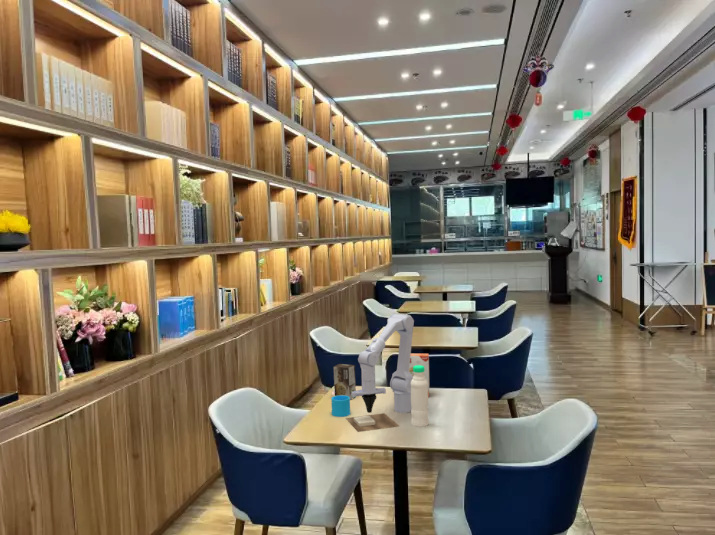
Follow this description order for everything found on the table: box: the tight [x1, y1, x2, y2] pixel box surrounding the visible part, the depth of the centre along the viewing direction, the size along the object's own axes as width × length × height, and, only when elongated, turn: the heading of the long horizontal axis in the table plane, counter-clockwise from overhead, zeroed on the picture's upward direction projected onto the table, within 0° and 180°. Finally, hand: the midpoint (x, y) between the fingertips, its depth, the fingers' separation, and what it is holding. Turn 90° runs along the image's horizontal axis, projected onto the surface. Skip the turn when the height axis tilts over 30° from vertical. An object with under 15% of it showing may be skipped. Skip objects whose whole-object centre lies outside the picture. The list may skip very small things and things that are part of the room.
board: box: [345, 412, 400, 433], centre depth 220 cm, size 18×18×1 cm
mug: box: [330, 395, 351, 418], centre depth 234 cm, size 12×8×8 cm
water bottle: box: [410, 365, 430, 427], centre depth 216 cm, size 7×7×25 cm
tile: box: [353, 415, 375, 427], centre depth 219 cm, size 2×8×7 cm
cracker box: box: [400, 352, 430, 398], centre depth 260 cm, size 14×6×21 cm, turn 81°
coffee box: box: [333, 363, 357, 401], centre depth 260 cm, size 9×6×16 cm
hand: (369, 412), depth 219 cm, fingers closed
